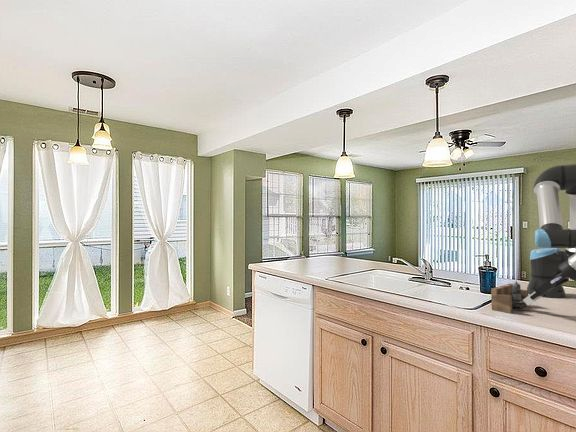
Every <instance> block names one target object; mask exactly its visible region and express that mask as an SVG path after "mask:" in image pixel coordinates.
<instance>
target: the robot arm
mask: <svg viewBox="0 0 576 432" xmlns="http://www.w3.org/2000/svg"><path fill="white" fill-rule="evenodd" d="M560 191H565V194H566V195H567V196H568V197H569V229H568V228H567V229H564V226H563V225H564V224H563V218H562V211H561V205H560V197H559V192H560ZM533 192H534V194H535V195H536V197H537V198H536V199H537V209H538V222H539V229H538V228H537V229H536V230H534V244H535V247H537V248H536V249H532V250H531V251H530V254H529V255H530V256H529V260H530V261H529V262H530V279H529V281H528V285H527V287H526V290H528V297H526V298H525V299H523V301H524V302H525V303H526V304H527V305H529V306H531V305H532V304H533V303H535V302H536V301H537V300H539V299H540V298H542V297H544V298H557V299H558V298H564V297H566V291H565V289H564V286H563V284H565V283H567V282H569V281H570V280H571V281H574V282H575V281H576V163H575V164H574V163H573V164H563V165H554V166H551V167H549V168H546V169H545V170H544V171H542V172H541V173H539V175H538V176H537V177H536V179H535V181H534V184H533ZM560 249H564V250H560ZM569 279H570V280H569Z"/></svg>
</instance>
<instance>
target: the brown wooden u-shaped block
mask: <svg viewBox="0 0 576 432" xmlns="http://www.w3.org/2000/svg"><path fill="white" fill-rule="evenodd" d="M513 284H514V283H507V284H503V285H500V286H496V287H492V288H490V291H491V292H490V293H491V295H490V296H491V310H492V311H496V312H501V313H505V314H513V310H512V307H513V306H512V292H511V291H513V289H512V285H513ZM520 290H521V292H522V293H521V299H522V300H523V299H525V298H526V297H528V296H529V293H528V290H527V289H521V288H520ZM529 306H530V305H527V304H526V303H524V306H522V308H523V307H524V308H528V307H529Z"/></svg>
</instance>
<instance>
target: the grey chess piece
mask: <svg viewBox="0 0 576 432" xmlns="http://www.w3.org/2000/svg"><path fill="white" fill-rule="evenodd" d="M512 284H513V285H512V289H513V291H511V292H512V311H519V312H523V311H526V310H525V308H523V306H524V303H525V302H524V301H523V300H522V299H521V293H522V292H521V290H520V289H521V284H519V282H518V281H517V280H516V281H515V282H514V283H512Z"/></svg>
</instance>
